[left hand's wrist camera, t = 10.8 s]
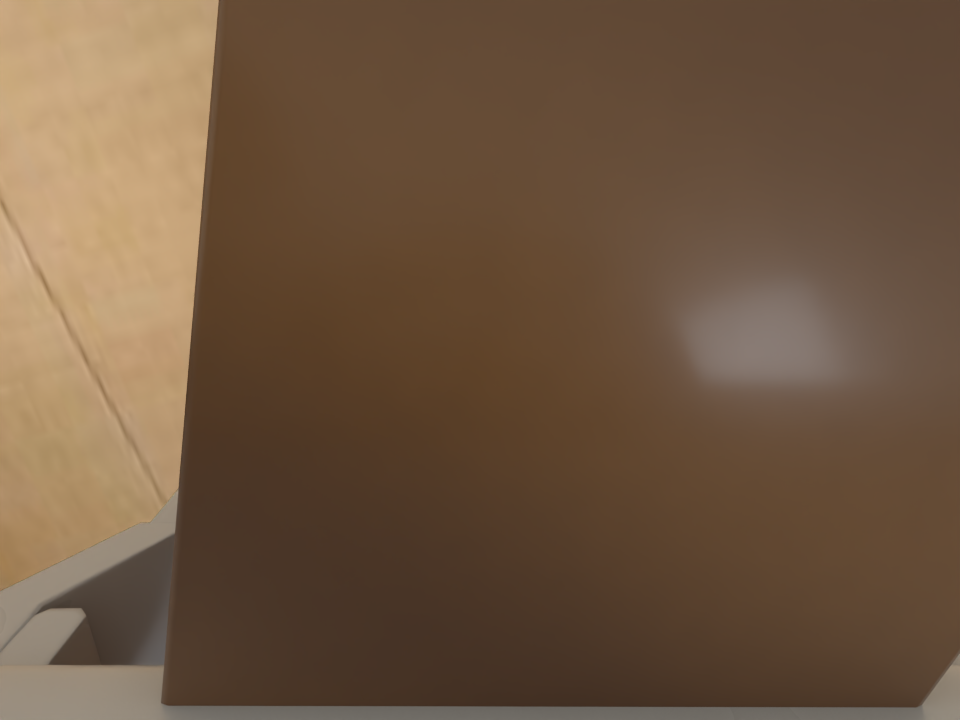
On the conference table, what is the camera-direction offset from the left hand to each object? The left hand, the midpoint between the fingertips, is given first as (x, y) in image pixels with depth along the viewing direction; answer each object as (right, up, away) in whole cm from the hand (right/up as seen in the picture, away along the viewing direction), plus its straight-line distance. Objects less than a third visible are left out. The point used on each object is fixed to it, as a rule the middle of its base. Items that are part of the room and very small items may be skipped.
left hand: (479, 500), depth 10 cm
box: (+2, +9, +3) cm, 9 cm away
